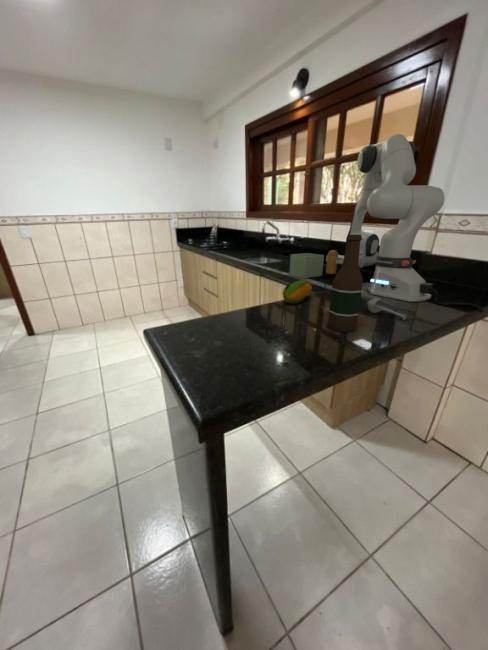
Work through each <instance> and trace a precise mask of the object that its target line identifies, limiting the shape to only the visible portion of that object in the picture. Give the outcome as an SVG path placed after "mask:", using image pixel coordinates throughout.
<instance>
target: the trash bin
mask: <svg viewBox="0 0 488 650" xmlns="http://www.w3.org/2000/svg"><path fill="white" fill-rule="evenodd" d="M324 259H325V255H324V254H318V253H317V254H316V253H310V252H304V253H293V254H291V253H290V258H289V275H291V276H295V277H299V278H301V279H307V278H308V279H309V278H316V277H322V276H323V271H324Z"/></svg>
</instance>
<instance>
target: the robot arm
mask: <svg viewBox="0 0 488 650" xmlns="http://www.w3.org/2000/svg"><path fill="white" fill-rule="evenodd" d="M415 151H416V149H415V145H414V143H413V141H410V140H408V138H407V137H406V136H405V135H404V134H401V133H397V134H393V135H391V136H389V137H387V139H385V140H384V142H379V143H375V144H368V145H365V146H363V147H362V148H361V149H360V151H359V154H358V157H357V160H356V161H357V162H356V163H357V169H358V171H359V172H360V173H363V174H365V175H364V179H363V183H362V189H361V194H360V198H359V199H358V200H357V201H356V203H355V206H354V210H353V214H352V218H351V222H350V226H349V230H348V232H347V235H346V237H347V236H348V235H361V236H362V240H361V241H360V251H359V262H358V263H359V269H361V268H362V269H363V268H365V267H370V266H373V265H375V266H374V273H373V276H372V278H371V279H370V284H369V286H368V288H367V291H368V292H369V294H370V295H374V296H379V297H384V298H389V299H394V300H398V301H399V300H400V301H404V302H405V301H406V302H409V303H411V302H413V303H414V302H415V303H416V302H425V301H429V300H431V299H432V294H430V293H432V292H433V293H434V294H435V297H434V299H433V300H434V304H436V305H440V306H441V305H442V306H452V305H457V306H466V307H467V306H469V307H474V308H476V309H478V310H479V311H480V313H484V314H485V313H486V311H485V310H484V308H482V307H481V306H479V305H478V304H475V303H470V302H459V301H457V302H455V301H454V302H453V301H452V302H443V301H442V302H441V301H438V297H439V292H438V291H437V290H436V289H434V288H433V287H434V283H432V282H431V283H430V282H426V279H424V278H423V277H422V276H421V275H420V274H419V273H418V272H417V271H416V270H415V269H414V268H413V265H414V264H415V263H416V262H417V260H416V259H415V260H413V259H412V257H411V254H412V249H413V245H414V243H415V239H416V237H417V234H418V232H419V231H420V229H421V228H422V226H423V225H425V223H426V222H427V221H428V220H429V219H431V218H432V217H434V216H435V215H436V214H438V213H439V212H440V210H441V209H442V208H443V206H444V202H445V192H444V191H443V189H442V188H441V187H437V186H433V185H426V184H425V185H408V184H410V183H411V181H412V180H413V179H414V178H415V175H416V172H417V167H416V161H415ZM367 213H368V215H369V216H370V217H373V218H378V219H383V220H384V219H385V220H389V219H390V220H391V219H392V220H394V219H395V220H397V219H399V220H398V223H397V224H396V225H395V227H394V228H391V229H389V230H388V231H386V232H385V233H384V234H382V236H381V238H379V235H377V234H376V233H372V232H366V231H363V230H362V227H363V223H364V220H365V216H366V214H367ZM345 243H346V244H345V245H347V240H346V239H345ZM327 256H328V254H327V255H326V258H325V262H326V263H327ZM343 260H344V255H341V254H338V260H334V263H336V264H337V265H342V264H343Z"/></svg>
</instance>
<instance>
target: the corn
mask: <svg viewBox="0 0 488 650" xmlns="http://www.w3.org/2000/svg"><path fill="white" fill-rule="evenodd" d="M307 281H308V280H307V279H300V280H297V281H294V282H292V283H288V284H287V285H285V286H284V288H283V289H282V290H283V291H282V293H281V294H282V297H283V298H282V299H283V301H284V302H285V303H287V304H291V305H297V304H299V303H302V302H303V301H305V300H306V299H308V298H309V296H310V294H311V292H312V289H313V285H312V284H311V283H309V282H307Z"/></svg>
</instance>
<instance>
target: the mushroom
mask: <svg viewBox="0 0 488 650" xmlns="http://www.w3.org/2000/svg"><path fill="white" fill-rule="evenodd" d="M366 305H367V310H368V312H370V313H374V314H377V313H380V312H381V311H385V312H387V313H390V314H392V315H395V316H398V317H400V318H401V319H402V320H403V321H404V320H406V318H407V316H408V314H405V313H404V314H402V313H400V312H397V311H394V310H393V309H390V308H387V307H386V304H385V302H384V301H383V300H382V299H381V298H378V297H374V298H372V299H370V300H368V301H367V303H366Z"/></svg>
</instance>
